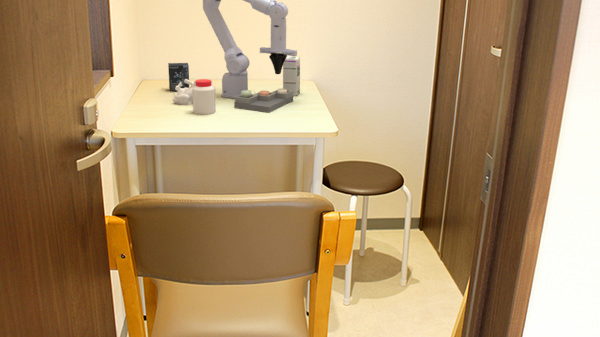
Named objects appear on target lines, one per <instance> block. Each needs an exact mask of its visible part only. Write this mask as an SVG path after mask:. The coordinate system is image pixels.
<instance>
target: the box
mask: <svg viewBox="0 0 600 337" xmlns="http://www.w3.org/2000/svg"><path fill="white" fill-rule="evenodd" d="M167 64H168V65H167V66H168V67H167V68H168V86H169V87H168V88H169V92H170V91H172V92H177V90H175V88H176V86H178V85H179V83H180V82H182V83H181V84H182V86H180V88H185V87H186V88H189V87H190V84H187V83H184V80H185V79H188V80H190V75H189V74H190V68H189V67H190V66H189V62H173V63H172V62H168V63H167Z"/></svg>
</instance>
